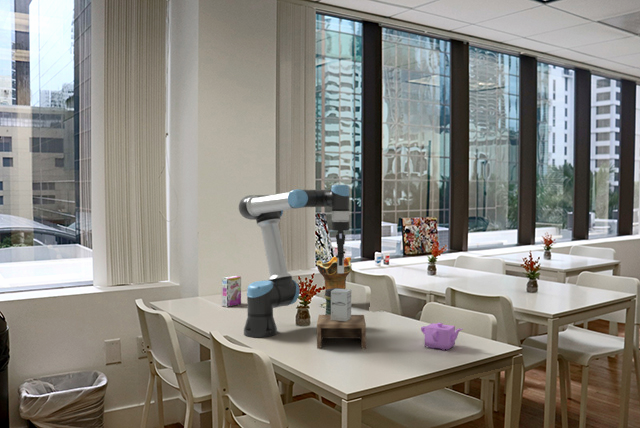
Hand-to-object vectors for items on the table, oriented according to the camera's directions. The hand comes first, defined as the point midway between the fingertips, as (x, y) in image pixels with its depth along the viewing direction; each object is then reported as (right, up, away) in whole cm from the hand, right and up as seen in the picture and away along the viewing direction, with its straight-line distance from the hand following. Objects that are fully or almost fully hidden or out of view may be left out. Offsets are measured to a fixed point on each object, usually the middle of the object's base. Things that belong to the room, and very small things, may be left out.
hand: (340, 271), depth 232 cm
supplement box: (0, -21, 0) cm, 21 cm away
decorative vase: (0, -28, +79) cm, 84 cm away
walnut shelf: (0, -31, +1) cm, 31 cm away
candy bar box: (-60, -29, +81) cm, 105 cm away
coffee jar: (-2, -30, +29) cm, 42 cm away
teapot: (+41, -31, -8) cm, 52 cm away
